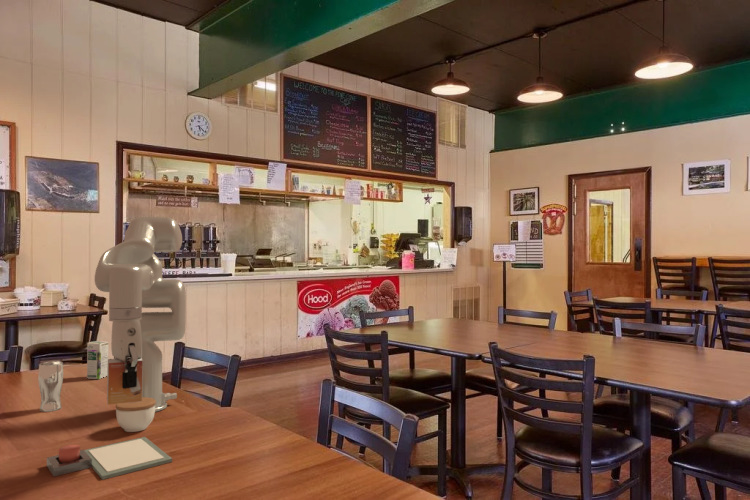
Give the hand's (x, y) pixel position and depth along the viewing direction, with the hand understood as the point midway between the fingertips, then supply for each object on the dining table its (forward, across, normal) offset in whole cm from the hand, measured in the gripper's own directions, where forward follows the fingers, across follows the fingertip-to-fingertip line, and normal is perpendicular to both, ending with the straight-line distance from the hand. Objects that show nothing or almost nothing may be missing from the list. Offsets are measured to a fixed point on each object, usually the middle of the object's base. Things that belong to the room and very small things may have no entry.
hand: (125, 384), depth 136 cm
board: (+18, -1, 0) cm, 18 cm away
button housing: (+18, +2, +12) cm, 22 cm away
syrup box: (+19, +93, -17) cm, 96 cm away
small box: (+4, 0, 0) cm, 4 cm away
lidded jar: (+19, +20, -9) cm, 29 cm away
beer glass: (+19, +57, +6) cm, 60 cm away
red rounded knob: (+17, +2, +12) cm, 21 cm away
